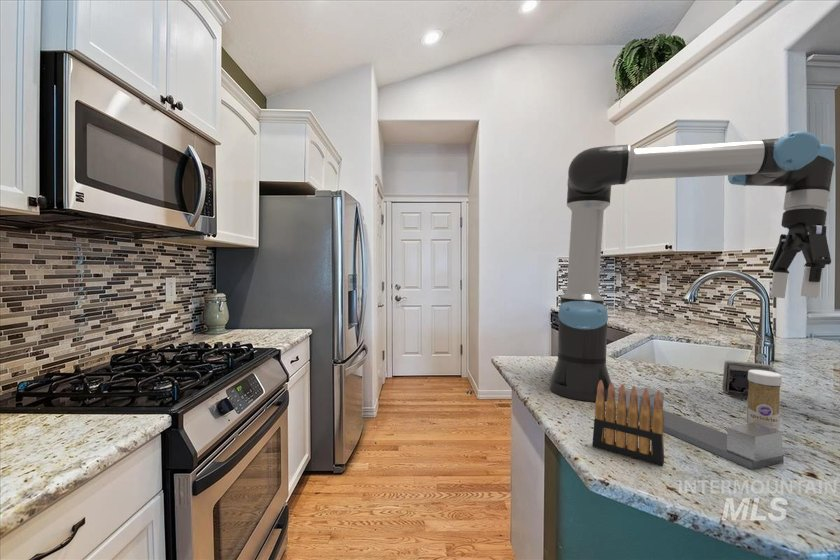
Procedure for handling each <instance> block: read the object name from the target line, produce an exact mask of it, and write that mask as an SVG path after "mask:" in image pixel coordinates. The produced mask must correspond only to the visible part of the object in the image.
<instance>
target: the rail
mask: <svg viewBox="0 0 840 560" xmlns="http://www.w3.org/2000/svg"><path fill="white" fill-rule="evenodd" d="M645 388H647V389H648V392H649V397H650V412H651V427H652V415H653V410H654V400H655V396H656V393H657V391H658V389H653V388H650V387H640V388H639V387H638V388H636V391H637V397H638V411H639V422H640V411H641V404H642V395H643V392H644V390H645ZM631 390H632V388H631V389H625V391H626V406H627V417H628V408H629V402H630V393H631ZM660 393H661V396H662V402H663V404H664V402H665V401H664V397H665V393H664V392H662V391H660ZM663 416H664V432H663V433H666V434H668V435H670V436H672V437H674V438H677V439H680V440H682V441H684V442H686V443H689V444H691V445H694V446H696V447H698V448H701V449H703V450H705V451H707V452H710V453H711V454H714V455H717V456H719V457H722V458H723V459H726V460H728V461H730V462H733V463H735V464H738V465H740V466H742V467H745V468H747V469H749V470H757V469H760V468H765V467H770V466H774V465H777V464H781V463H784V459H785V458H784V456H785V454H783V435H784V434H783V433H784V432H783V431H781V430H780V429H779V430H776V429H773V428H770V427H767V426H764V425H761V424H758V423H749V424H747V423H744V424H738V425H732V426H727V432H722V431H720V430H717V429H714V428H713V427H710V426H707V425H705V424H702V423H699V422H696V421H693V420H691V419H687V418H685V417H682V416H680V415H678V414H674V413H672V412H669V411H666V410H664V409H663Z"/></svg>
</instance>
